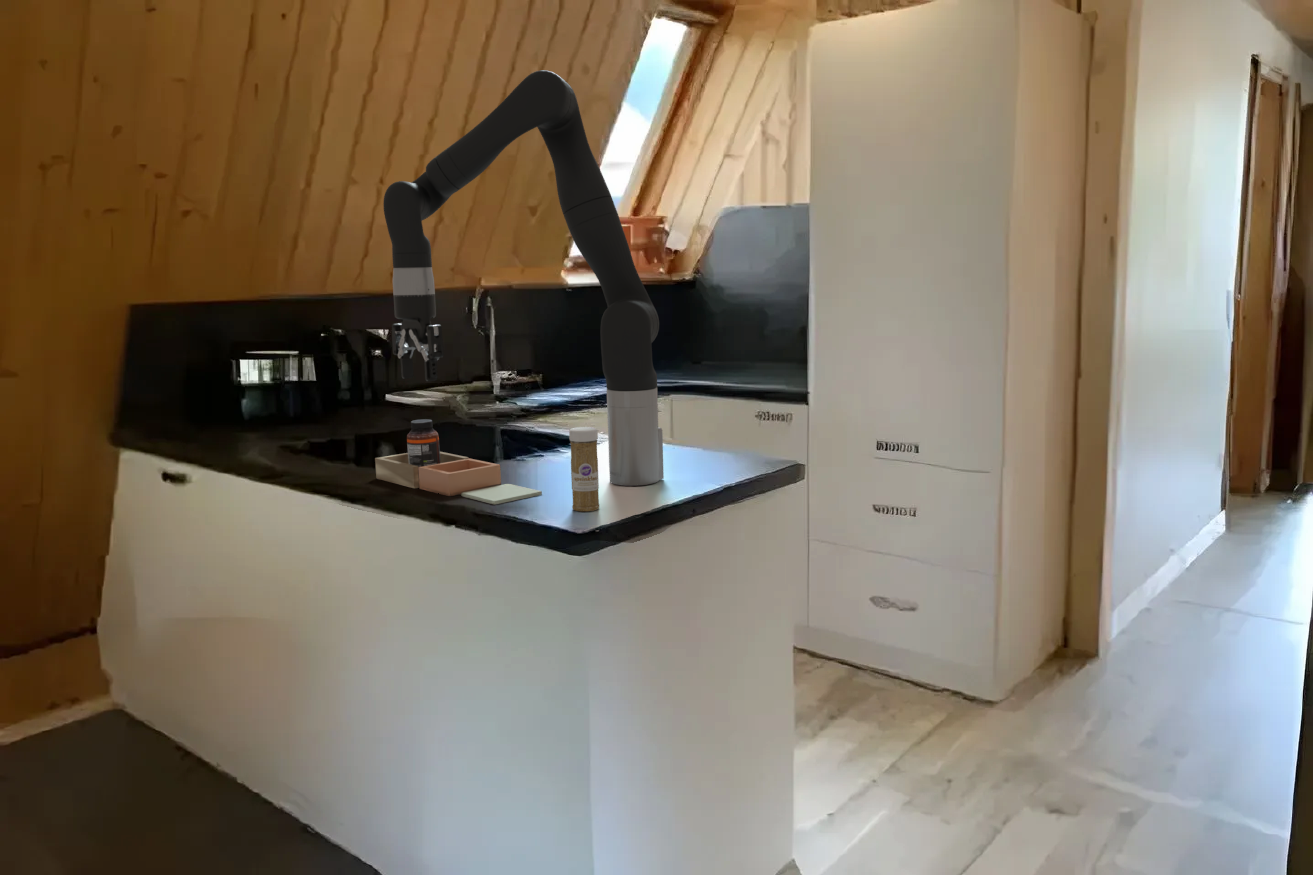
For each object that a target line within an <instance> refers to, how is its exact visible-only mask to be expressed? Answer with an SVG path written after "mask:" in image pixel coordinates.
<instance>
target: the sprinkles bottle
mask: <svg viewBox="0 0 1313 875" xmlns="http://www.w3.org/2000/svg"><path fill="white" fill-rule="evenodd" d="M568 432H569V434H568V437H569V442H570V474H571V476H570V478H571V489H572V506H571V507H572V510H573V511H576V512H581V513H583V512H584V513H585V512H593V511H597V510H599V509H600V499H599V495H600V494H599V488H600V487H599V459H598V447H597V446H598V438H599V437H598V428H596V427H593V426H576V427H572V428H570V429H569V431H568Z"/></svg>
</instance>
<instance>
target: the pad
mask: <svg viewBox="0 0 1313 875" xmlns="http://www.w3.org/2000/svg"><path fill="white" fill-rule="evenodd" d="M460 495H461V497H463V498H467V499H471V500H474V501H479V502H483V503H487V504H490V505H500V504H503V503H509V502H513V501H518V500H523V499H526V498H533V497H537V496H541V495H543V492H542V490H538V489H534V488H529V487H524V486H520V485H517V484H511V483H505V484H501V485H499V486H494V487H489V488H484V489H479V490H473V491H468V492H463V493H461V494H460Z"/></svg>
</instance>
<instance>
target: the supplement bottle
mask: <svg viewBox="0 0 1313 875" xmlns="http://www.w3.org/2000/svg"><path fill="white" fill-rule="evenodd" d="M433 427H434V426H433V420H432V419H426V418H425V419H415V420H412V421H410V428H411V430H410V431H409V433H407V435H406V445H407V453H408V460H409V464H411V465H415V466H418V467H423V466H428V465H434V464H440V452H441V450H440V438H439V433H438V432H437V430H435V429H434V428H433ZM418 476H419V470H418Z"/></svg>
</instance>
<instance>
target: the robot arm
mask: <svg viewBox="0 0 1313 875" xmlns="http://www.w3.org/2000/svg"><path fill="white" fill-rule="evenodd" d="M535 128H537V130H538V131H539V133H540V135H541V137H542V140H543V141H544V143H545V146H546V148H547V151H548V153H549V156H550V157H551V160H552V164H553V169H554V173H555V174H554V175H555V184H556V190H557V196H558V202H559V205H560V208H561V212H562V214H563V218H564V220H565V223H566V225H567V228H568V230H569V233H570V235H571V238H572V240H573V242H574V244H575V246H576V247H577V249H578V251H579V252H580V254H581V256H582V257H583V258H584V260H585V261H586V264H588V266H589V268H590V269H591V270H592V272H593V273H594V275H595V277H596V278H597V281H598V283H599V285H600V287H601V289H602V292H603V295H604V299H605V302H606V306H607V308H606V309H605V310H604V312H603V315H602V317H601V319H600V350H601V364H602V372H603V375H604V378H605V384H606V404H607V405H606V406H607V407H606V408H607V413H606V414H607V437H608V438H607V439H608V440H607V441H608V467H609V483H611V484H614V485H619V486H630V487H631V486H646V485H653V484H655V483H659V481H661V480H663V479H664V477H665V476H664V446H663V444H664V443H663V442H664V439H663V438H664V436H663V434H664V433H663V429H662V427H659V408H658V406H659V403H658V376H657V372H656V370H655V367H654V364H653V351H652V350H653V349H652V348H653V347H652V343H653V342H654V341H655V339H656V338H657V336H658V333H659V331H660V320H659V315H658V312H657V310H656V308H655V306H654V304H653V302H652V300H651V298H650V295H649V294H648V292H647V290H646V288H645V285H644V284H643V282H642V280H641V277H640V275H639V272H638V270H637V269H636V265H635V262H634V259H633V256H632V253H631V250H630V245H629V243H628V240H627V237H626V234H625V231H624V229H623V225H622V223H621V220H620V217H619V213H618V211H617V208H616V205H615V203H614V200H613V196H612V195H611V192H610V190H609V187H608V185H607V183H606V180H605V178H604V175H603V173H602V171H601V169H600V166H599V164H598V162H597V161H596V158H595V156H594V154H593V152H592V149H591V146H590V144H589V141H588V138H587V135H586V131H585V128H584V123H583V120H582V115H581V111H580V107H579V103H578V99H577V95H576V92H574V89H573V88H572V87H571V85H570V84H569V83H568V82H567V81H566V80H565V79H563V78H562V77H561V76H560V75H558V74H557V73H555V72H553V71H550V70H544V69H543V70H536V71H533V72H531V73H529V75H527V76H526V77H524V79H522V81H521V82H519V84H518V85H517V86H516V87H515V88H514V89H513V90H512V91H511V92H510V93H509V95H508V96H506V98H505V99H504V100H502V102H501V103H499V104H498V106H496V107H495V109H494V110H492V111H491V113H489V114H488V115H487V116H486V117H485V118H484V119H483V120H481V121H480V122H479V123H478V124H477V125H476V126H475V127H473V128H472V129H471V130H470V131H468V132H467V133H466V134H464V135H463V136H461V138H459V139H457V141H454V143H452V144H451V145H450V146H448V147H447V148H446V149H444V150H443V151H441V152H440V153H439V154H438V155H436V156H434V158H432V159H431V160H430V161H429V162H428V163H427V164H426V166H425V171H424V172H423V173H422V174H421V175H420V176H418V177H417V178H416V179H415V180H413V181H411V182H410V181H405V180H401V181H396V182H392V183H391V184H390V185H388V187H387V189H386V191H385V193H384V196H383V204H382V205H383V213H384V218H385V224H386V227H387V232H388V235H389V239H390V242H391V246H392V247H391V252H392V266H393V267H392V268H393V269H392V271H393V272H392V291H393V292H392V293H393V305H394V306H393V307H394V310H393V312H394V318H396V319H398V320H401V322H398V323H397V322H396V323H392V324H391V336H392V338H391V340H392V354H393V355H394V356H397V358H398V359H400V373H401V374H400V375H401V378H402V379H405V380H406V379H413V378H414V377H415V376H414V360H413V358H412V357H413V355H414V352H415V350H417V351H418V352H419V353H421V355H422V357H423V359H424V362H423V363H424V364H423V365H424V379H425V381H426V382H435V381H437V380H438V360H440V358H443V357H444V356H445V351H444V339H443V329H442V325H441V324H432V322H431V319H435V317H437V304H436V289H435V287H436V286H435V278H434V273H433V264H432V259H433V258H432V247H431V246H432V245H431V242H430V240H429V238H428V237H427V236H426V235H425V233H424V227H423V221H425V220H426V219H428V218H430V217H431V216H432V215H433V214H435V213H436V212H437V211H438V210H439V209H440V208H441V207H442V206H443V205H444V204H445V203H446V202H448V200H449V199H450V198H451V196H452V195H454V194H455V193H457V192H459V191H460V190H462V189H463V188H464V187H465V186H467V185H468V184H469V183H470V182H472V181H474V180H475V179H476V178H477V177H478V176H480V175H481V174H482V173H483V172H485V171H486V170H487V169H488V167H490V165H491V164H492V163H493V162H494V161H495V160H496V159H497V157H498V156H499V155H500V154H501V153H502V152H503V151H504V149H505V148H507V147H508V146H509V145H510V144H511V143H512V142H514V141H515V140H517V139H518V138H520V137H521V136H522V135H524V134H526V133H528V132H529V131H531V130H534V129H535ZM436 348H437V349H436Z"/></svg>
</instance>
